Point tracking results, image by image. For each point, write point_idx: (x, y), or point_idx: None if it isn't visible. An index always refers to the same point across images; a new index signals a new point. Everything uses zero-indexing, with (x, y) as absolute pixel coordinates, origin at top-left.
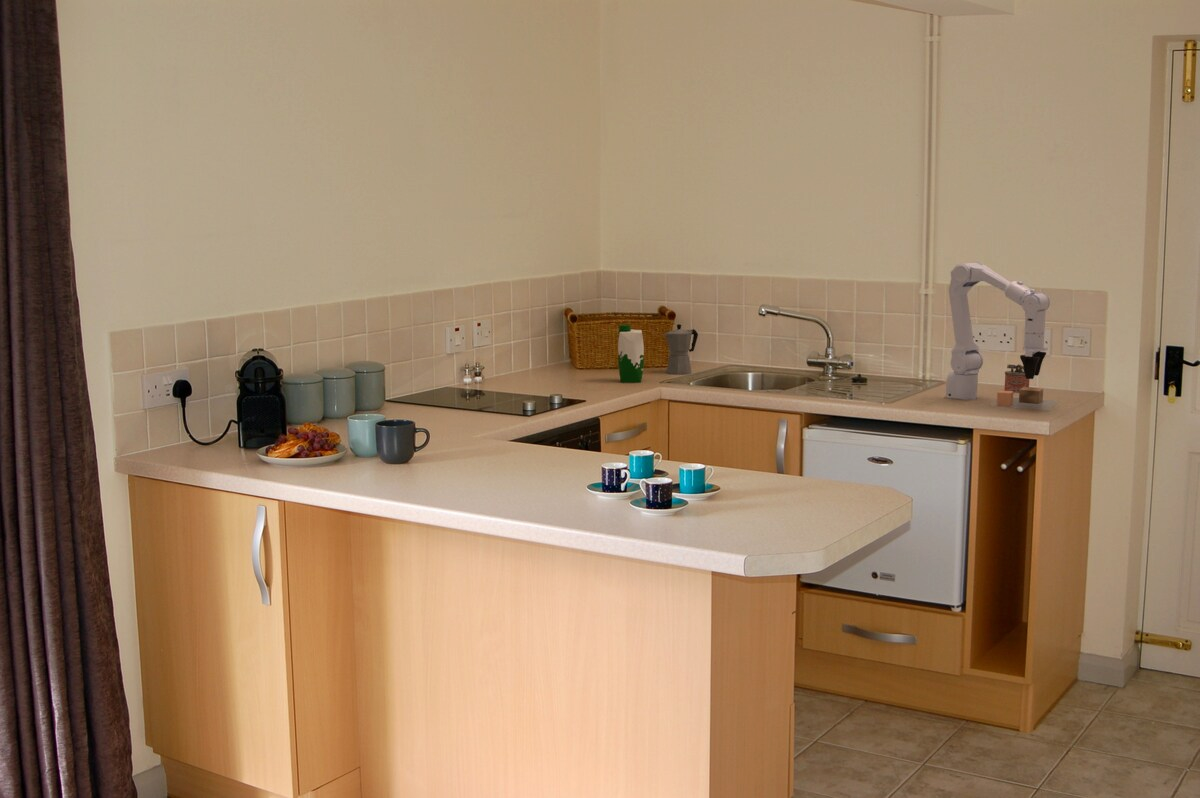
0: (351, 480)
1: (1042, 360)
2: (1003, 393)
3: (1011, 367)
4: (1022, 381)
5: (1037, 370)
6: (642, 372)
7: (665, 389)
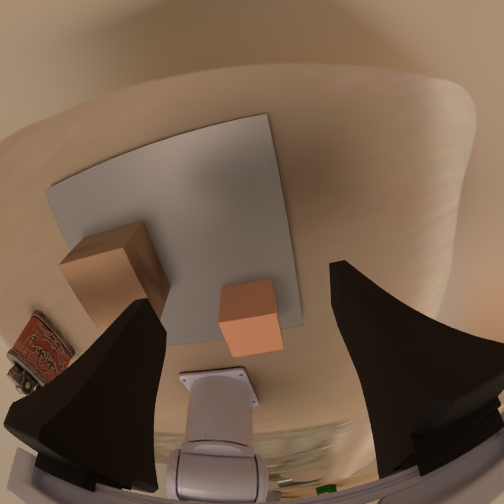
0: None
1: (69, 378)
2: (280, 331)
3: None
4: (34, 349)
5: (137, 330)
6: (327, 491)
7: (349, 475)
